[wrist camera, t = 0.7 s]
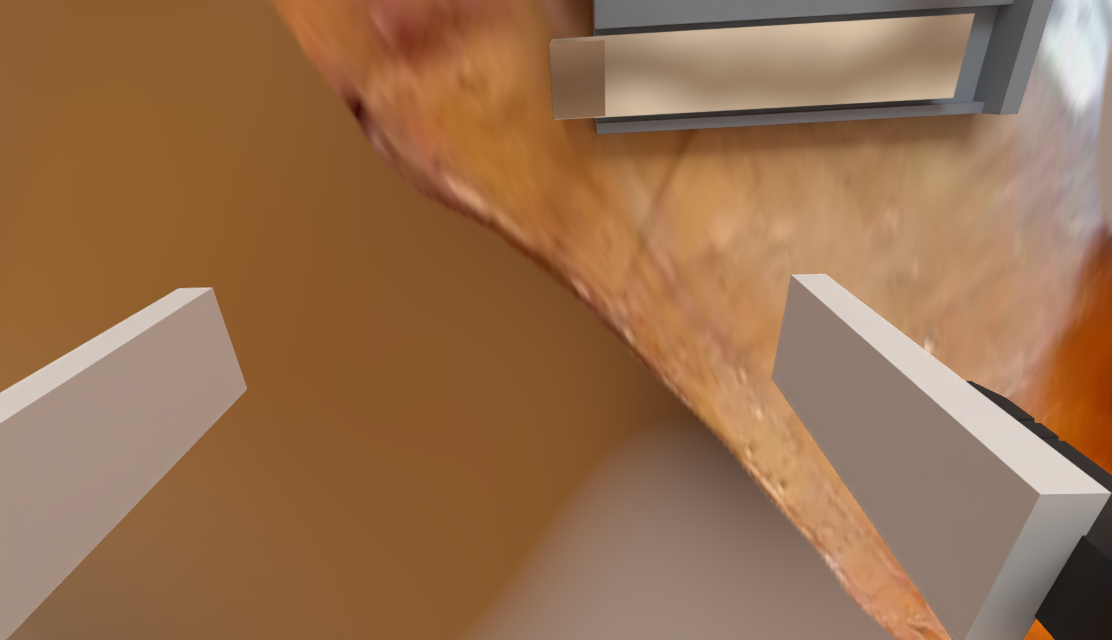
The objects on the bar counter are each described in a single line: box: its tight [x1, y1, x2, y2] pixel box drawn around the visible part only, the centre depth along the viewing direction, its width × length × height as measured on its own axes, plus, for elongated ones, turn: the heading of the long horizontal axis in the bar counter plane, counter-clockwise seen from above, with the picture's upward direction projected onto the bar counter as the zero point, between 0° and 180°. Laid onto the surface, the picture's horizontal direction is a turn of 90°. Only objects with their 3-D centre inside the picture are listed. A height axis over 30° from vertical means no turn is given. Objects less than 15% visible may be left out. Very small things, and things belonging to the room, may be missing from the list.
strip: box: [549, 13, 975, 120], centre depth 27 cm, size 4×23×8 cm, turn 93°
